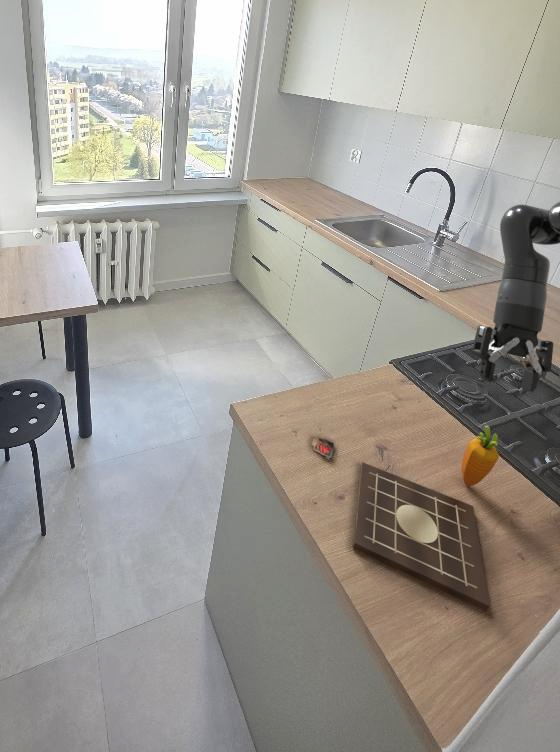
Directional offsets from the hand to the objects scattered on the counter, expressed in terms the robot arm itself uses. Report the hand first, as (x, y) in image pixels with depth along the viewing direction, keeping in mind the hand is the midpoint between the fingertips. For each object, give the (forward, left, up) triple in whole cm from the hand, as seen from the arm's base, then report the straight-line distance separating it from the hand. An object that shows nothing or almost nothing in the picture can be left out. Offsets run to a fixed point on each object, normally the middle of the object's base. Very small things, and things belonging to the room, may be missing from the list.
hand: (506, 385), depth 82 cm
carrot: (+2, +7, -22) cm, 23 cm away
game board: (+12, +22, -22) cm, 33 cm away
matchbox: (+30, +12, -22) cm, 39 cm away
